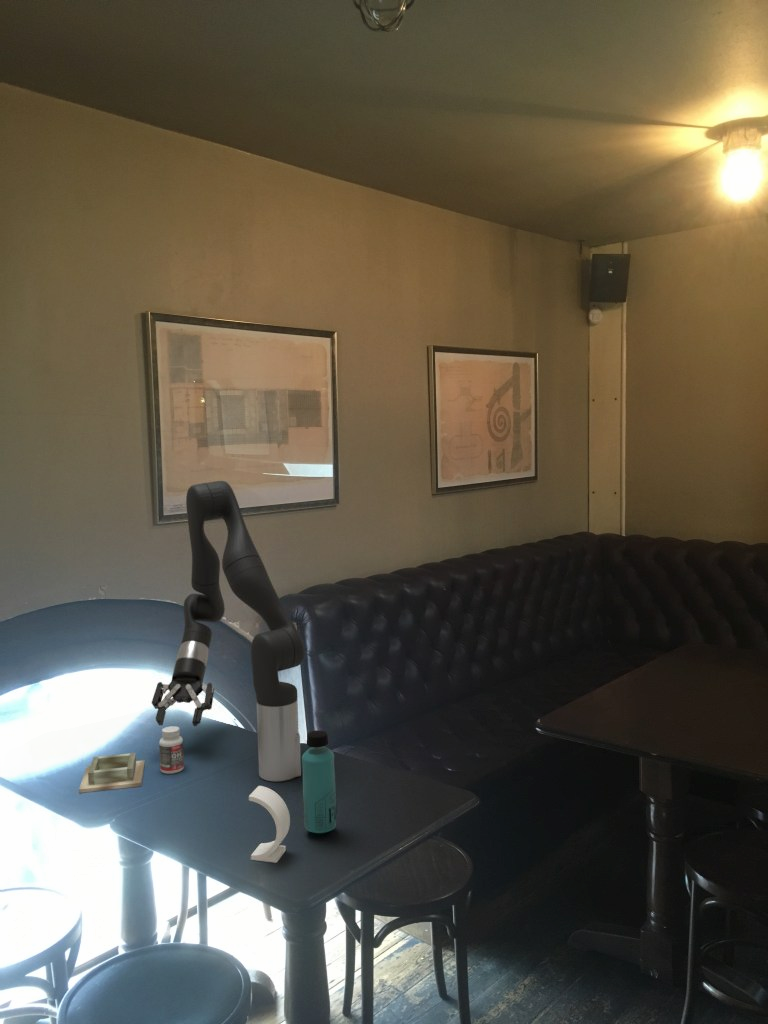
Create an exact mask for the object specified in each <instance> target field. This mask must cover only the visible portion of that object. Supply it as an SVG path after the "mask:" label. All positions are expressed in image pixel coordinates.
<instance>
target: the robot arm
mask: <svg viewBox="0 0 768 1024" xmlns="http://www.w3.org/2000/svg"><path fill="white" fill-rule="evenodd" d="M236 497H237V496H236V494H235V492H234V490H233V488H232V486H231V485H230V483H228V482H227V481H226V480H216V481H210V482H203V483H197V484H193V485H191V486H190V487H189V488H188V489H187V492H186V501H185V503H186V505H185V506H186V515H187V516H186V517H187V524H188V532H189V533H188V534H189V539H190V540H189V542H190V547H191V548H190V549H191V584H190V585H191V588H192V589H193V590H194V591H195V592H197V593H190V594H189V595H187V597H186V598H185V599H184V600H183V601H184V602H183V615H184V616H183V617H184V629H183V635H182V640H181V643H180V647H179V650H178V651H177V657H176V660H175V664H174V669H173V673H172V677H171V681H170V682H169V683H168V684H163V682H162V681H160V682H158V683H156V688H155V691H154V694H153V697H152V699H151V704H152V706H153V708H154V709H155V710H157V712H156V716H155V721H156V722H157V724H158V726H163V724H164V722H165V716H166V713H167V710H168V708H170V707H172V706H174V705H175V703H180V704H181V703H187V704H188V703H189V704H190V703H191V702H192V701H193V703H194V704H195V706H196V708H194V710H193V711H194V712H193V717H192V722H191V723H192V725H193V727H197V726H198V725H199V724H200V723H201V722H202V718H203V712H204V711H207V710H208V711H210V710H212V707H213V702H214V692H215V687H214V685H213V683H212V682H208V683H207V684H203V683H204V678H205V673H206V669H207V665H208V660H209V649H210V646H211V640H212V637H213V632H212V629H211V628H210V627H209V626H207V625H206V624H203V623H200V622H204V623H205V622H206V623H214V624H215V623H218V622H219V621H221V620H222V618H223V617H224V616H225V602H224V598H223V594H222V591H221V587H220V573H221V572H220V571H221V568H222V571H223V573H224V576H225V578H226V581H227V584H228V585H229V587H230V589H231V591H232V593H234V595H235V596H236V597H237V598H238V599H239V600H240V601H241V602H243V603H244V604H245V605H246V606H248V607H249V608H250V609H252V610H253V611H254V612H255V613H257V614H258V615H259V616H260V617H261V618H262V620H264V622H265V624H266V626H267V627H268V629H269V630H268V631H264V632H263V631H262V632H260V633H257V634H255V636H254V637H253V638H252V642H251V644H250V658H251V659H250V660H251V669H252V671H251V672H252V679H253V680H252V683H253V688H254V691H255V698H256V722H257V724H256V726H257V747H258V748H257V749H258V750H257V752H258V754H257V755H258V775H259V777H260V778H261V779H262V780H263V781H264V780H265V781H268V782H285V781H289V780H292V779H295V778H297V777H302V764H301V763H302V756H301V735H300V733H299V707H298V704H299V703H298V702H299V700H298V688H297V686H296V685H294V684H292V683H290V682H286V681H280V680H279V672H281V671H285V670H289V669H292V668H296V667H298V666H300V665H301V664H302V663H303V662H304V659H305V646H304V641H303V639H302V637H301V635H300V632H299V631H298V629H297V627H296V625H294V622H293V621H292V619H291V617H290V616H289V614H288V612H287V610H286V608H285V606H284V605H283V603H282V601H281V600H280V597H279V596H278V594H277V592H276V590H275V588H274V585H273V583H272V582H271V581H272V580H271V579H270V576H269V574H268V571H267V569H266V567H265V564H264V562H263V559H261V558H262V557H261V556H260V554H259V552H258V550H257V548H256V546H255V544H254V541H253V538H252V537H251V535H250V533H249V530H248V528H247V525H246V523H245V519H244V517H243V514H242V511H241V508H240V505H239V503H238V500H237V498H236ZM219 519H222V520H223V521H224V523H225V526H226V529H227V539H226V543H225V547H224V551H223V554H222V555H223V556H222V559H221V560H222V561H221V562H220V556H219V554H218V553H217V551H216V549H215V548H214V546H213V545H212V543H211V542H210V540H209V539H208V537H207V535H206V533H205V522H206V521H213V520H219ZM221 565H222V566H221ZM167 691H168V693H166V692H167ZM202 692H203V693H205V694H204V695H205V697H204V702H202V703H201V701H200V699H199V698H198V696H199V695H200V694H202ZM164 694H166V695H164Z"/></svg>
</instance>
